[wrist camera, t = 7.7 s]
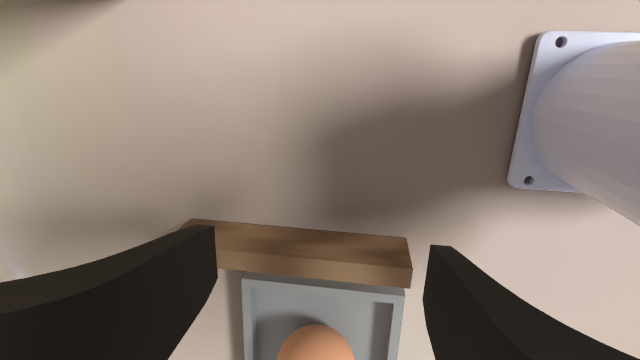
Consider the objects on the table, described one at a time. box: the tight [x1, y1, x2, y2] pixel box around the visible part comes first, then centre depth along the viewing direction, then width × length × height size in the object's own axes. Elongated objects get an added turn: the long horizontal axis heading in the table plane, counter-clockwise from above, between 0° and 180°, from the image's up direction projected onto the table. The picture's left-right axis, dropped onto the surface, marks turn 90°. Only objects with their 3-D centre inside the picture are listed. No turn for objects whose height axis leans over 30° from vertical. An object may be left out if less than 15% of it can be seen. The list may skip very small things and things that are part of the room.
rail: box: [179, 219, 413, 289], centre depth 21 cm, size 14×1×4 cm, turn 88°
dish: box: [241, 271, 405, 360], centre depth 24 cm, size 10×10×2 cm
